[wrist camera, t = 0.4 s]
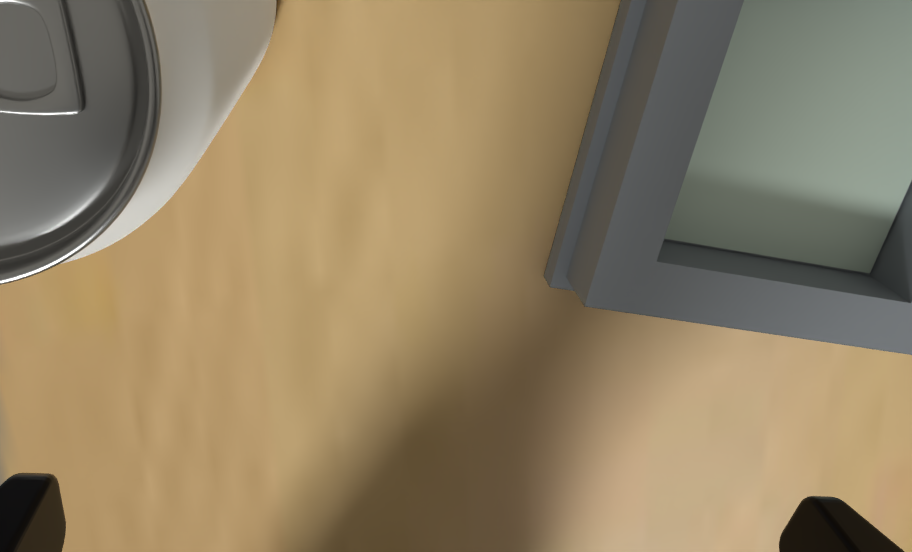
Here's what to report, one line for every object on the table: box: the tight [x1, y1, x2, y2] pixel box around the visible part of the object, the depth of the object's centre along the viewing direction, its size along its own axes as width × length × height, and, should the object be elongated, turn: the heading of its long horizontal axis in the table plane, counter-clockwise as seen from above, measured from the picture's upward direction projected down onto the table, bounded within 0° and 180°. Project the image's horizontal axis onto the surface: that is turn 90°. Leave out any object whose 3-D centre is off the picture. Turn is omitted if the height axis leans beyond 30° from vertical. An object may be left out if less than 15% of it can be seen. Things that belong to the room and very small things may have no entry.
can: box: [0, 0, 276, 285], centre depth 14 cm, size 6×6×12 cm
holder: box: [544, 0, 912, 355], centre depth 22 cm, size 12×12×3 cm
